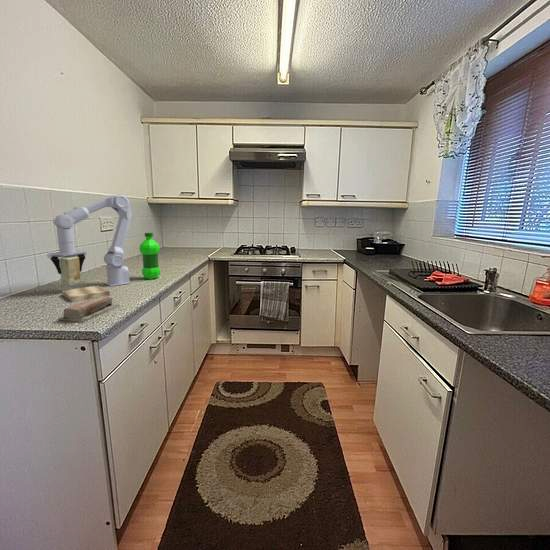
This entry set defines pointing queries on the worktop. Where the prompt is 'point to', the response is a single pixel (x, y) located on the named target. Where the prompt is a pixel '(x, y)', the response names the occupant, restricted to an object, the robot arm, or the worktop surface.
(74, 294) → the wooden base
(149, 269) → the plastic bottle
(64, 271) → the skincare box
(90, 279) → the worktop surface
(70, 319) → the brown rectangular block
